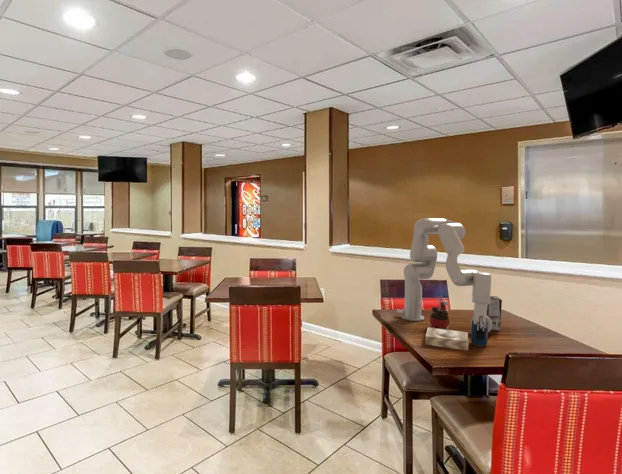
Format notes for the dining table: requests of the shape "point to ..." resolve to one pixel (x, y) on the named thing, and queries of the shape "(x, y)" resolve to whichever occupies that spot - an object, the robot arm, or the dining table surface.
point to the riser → (447, 338)
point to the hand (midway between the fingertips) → (479, 335)
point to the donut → (488, 323)
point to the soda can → (473, 334)
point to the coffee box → (494, 312)
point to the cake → (440, 316)
